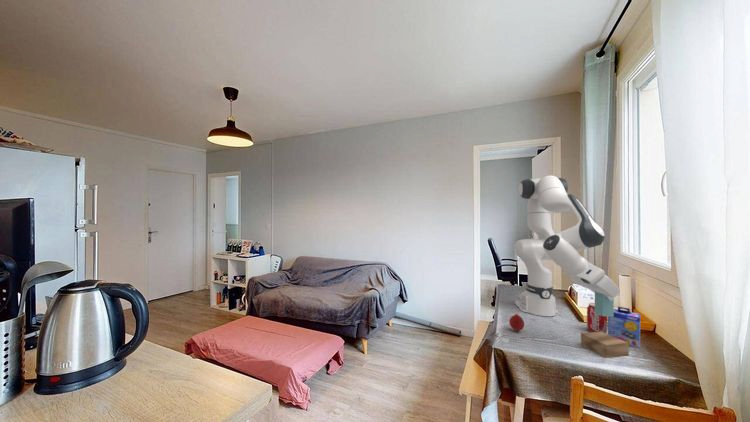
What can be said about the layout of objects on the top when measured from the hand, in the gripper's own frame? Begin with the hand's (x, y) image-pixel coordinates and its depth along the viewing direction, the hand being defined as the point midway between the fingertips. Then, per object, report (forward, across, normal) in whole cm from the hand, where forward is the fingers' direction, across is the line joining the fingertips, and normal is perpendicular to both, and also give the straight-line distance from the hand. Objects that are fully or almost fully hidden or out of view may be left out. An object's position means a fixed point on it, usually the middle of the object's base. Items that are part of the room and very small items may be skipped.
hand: (605, 296), depth 106 cm
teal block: (+4, 0, -5) cm, 7 cm away
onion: (-4, -15, -34) cm, 37 cm away
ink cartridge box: (+24, -8, -5) cm, 26 cm away
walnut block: (+14, 0, -15) cm, 21 cm away
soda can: (+21, -17, -8) cm, 29 cm away
